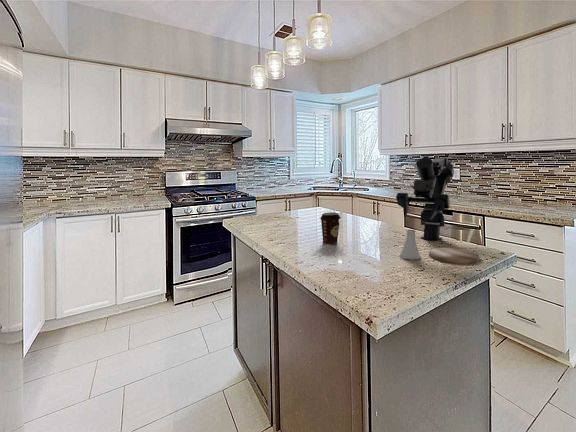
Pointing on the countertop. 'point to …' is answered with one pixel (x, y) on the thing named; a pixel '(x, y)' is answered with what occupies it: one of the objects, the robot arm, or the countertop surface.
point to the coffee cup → (330, 227)
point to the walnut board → (454, 255)
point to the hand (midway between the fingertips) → (417, 217)
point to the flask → (410, 247)
